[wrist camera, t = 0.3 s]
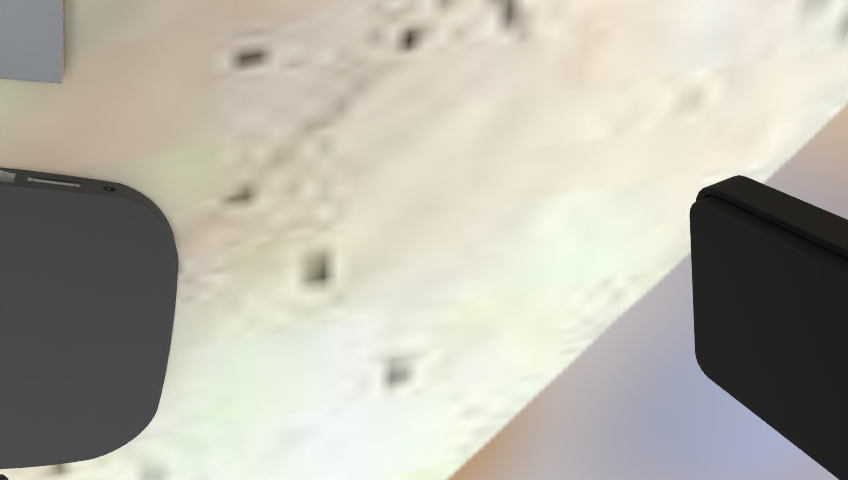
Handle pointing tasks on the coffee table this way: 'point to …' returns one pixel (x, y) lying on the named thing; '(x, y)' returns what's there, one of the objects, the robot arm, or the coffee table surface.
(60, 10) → the power strip
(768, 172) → the coffee table surface
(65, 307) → the media streaming box
